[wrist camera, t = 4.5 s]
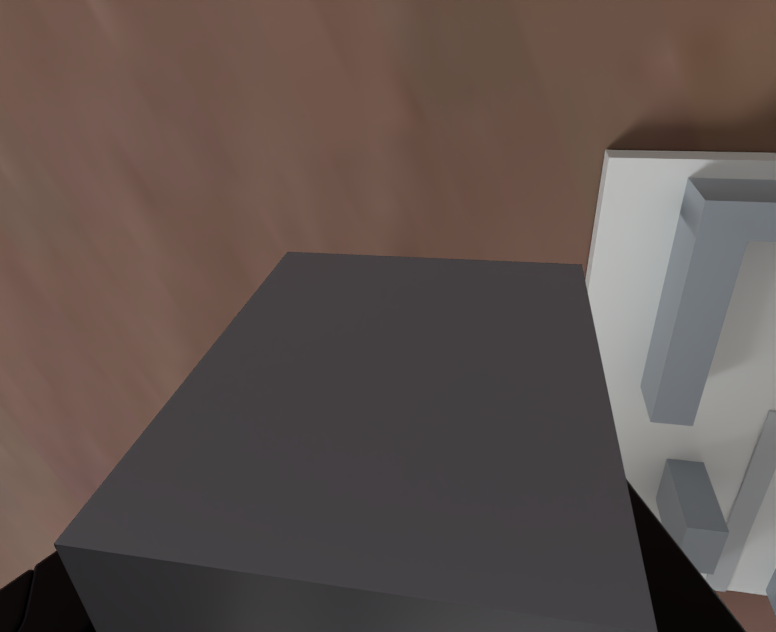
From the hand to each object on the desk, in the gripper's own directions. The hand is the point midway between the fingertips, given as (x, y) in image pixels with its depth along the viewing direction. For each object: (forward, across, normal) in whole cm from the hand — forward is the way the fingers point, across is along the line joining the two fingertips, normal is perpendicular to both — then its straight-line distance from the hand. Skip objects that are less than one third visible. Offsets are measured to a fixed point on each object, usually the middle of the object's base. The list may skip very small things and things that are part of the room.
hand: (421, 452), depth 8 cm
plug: (+1, 0, +5) cm, 6 cm away
